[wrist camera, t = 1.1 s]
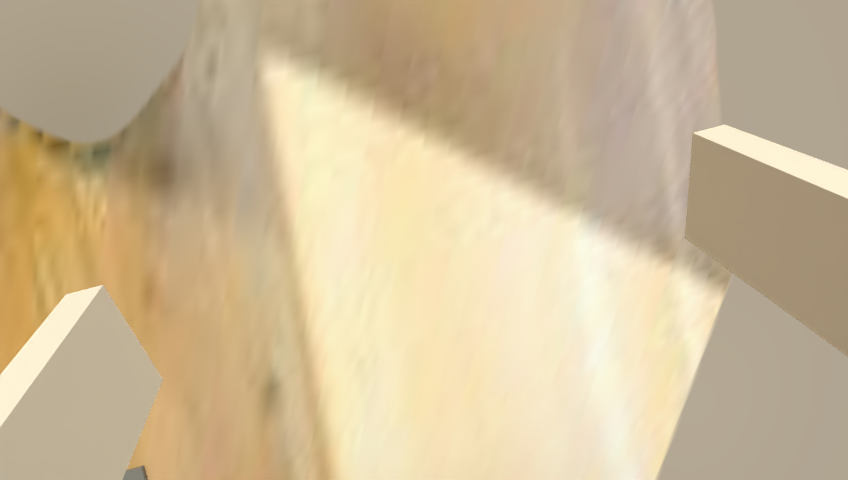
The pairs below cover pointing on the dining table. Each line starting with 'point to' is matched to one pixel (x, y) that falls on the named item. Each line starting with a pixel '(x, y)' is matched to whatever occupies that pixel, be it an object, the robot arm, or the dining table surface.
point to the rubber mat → (135, 474)
